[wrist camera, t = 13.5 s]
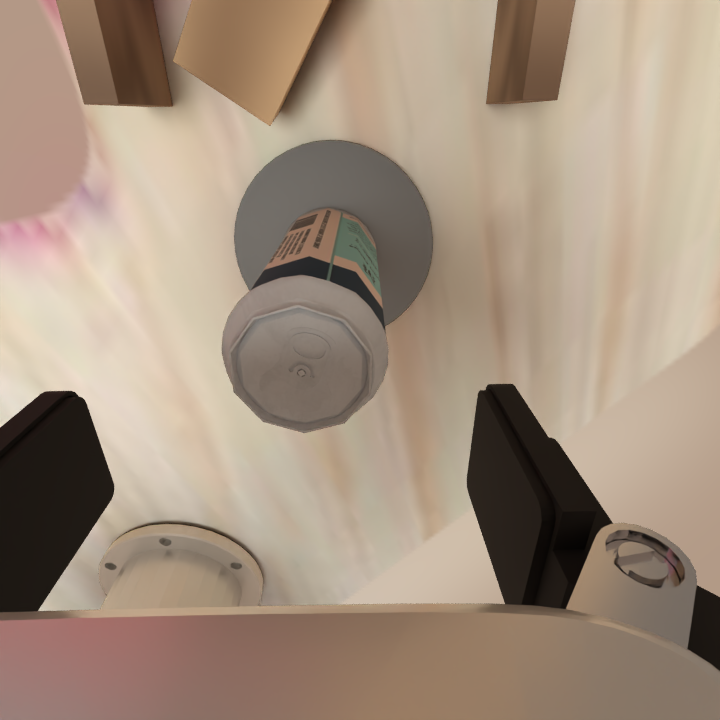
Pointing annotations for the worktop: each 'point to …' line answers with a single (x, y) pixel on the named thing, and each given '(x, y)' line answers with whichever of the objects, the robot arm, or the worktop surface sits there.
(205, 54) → the offcut upper
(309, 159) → the mat
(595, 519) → the robot arm
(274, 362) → the beer can
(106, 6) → the rack
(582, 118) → the worktop surface
